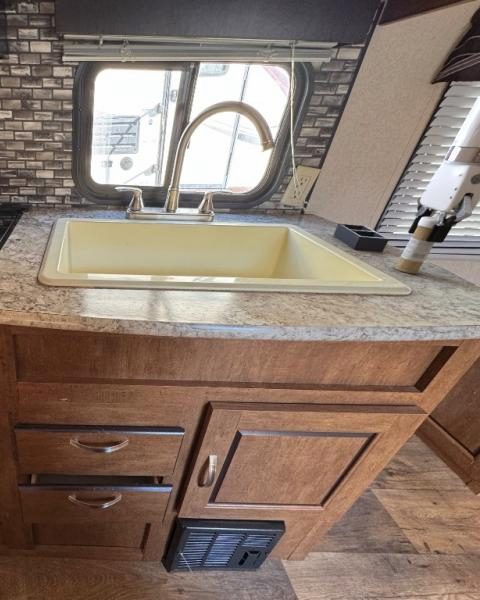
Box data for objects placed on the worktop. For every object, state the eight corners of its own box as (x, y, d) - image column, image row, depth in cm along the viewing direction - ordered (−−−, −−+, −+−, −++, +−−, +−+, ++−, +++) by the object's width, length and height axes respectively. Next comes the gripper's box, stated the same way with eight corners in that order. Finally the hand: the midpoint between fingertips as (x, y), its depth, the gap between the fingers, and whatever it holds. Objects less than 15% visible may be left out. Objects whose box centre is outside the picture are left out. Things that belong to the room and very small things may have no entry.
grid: (358, 237, 104) (364, 225, 102) (382, 252, 92) (389, 238, 90) (333, 235, 105) (338, 223, 103) (353, 249, 94) (359, 236, 91)
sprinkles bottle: (417, 270, 81) (448, 218, 74) (417, 275, 78) (449, 222, 71) (394, 265, 83) (422, 214, 77) (392, 270, 81) (421, 218, 74)
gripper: (531, 161, 59) (471, 251, 68) (461, 153, 74) (419, 229, 83) (482, 160, 61) (429, 248, 70) (423, 152, 75) (385, 226, 84)
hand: (424, 237), depth 76 cm, fingers open, 5 cm apart
